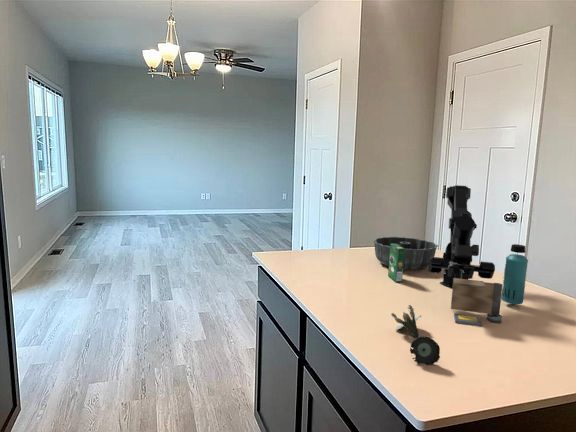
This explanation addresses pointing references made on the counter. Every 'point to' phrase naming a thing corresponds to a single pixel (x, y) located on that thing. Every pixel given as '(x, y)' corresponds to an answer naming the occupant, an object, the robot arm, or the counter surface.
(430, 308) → the counter surface
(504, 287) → the beverage bottle
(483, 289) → the brown wooden block
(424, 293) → the counter surface
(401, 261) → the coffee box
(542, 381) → the counter surface
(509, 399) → the counter surface
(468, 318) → the label plaque
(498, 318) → the pivot foot
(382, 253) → the bundt pan
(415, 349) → the artificial flower
